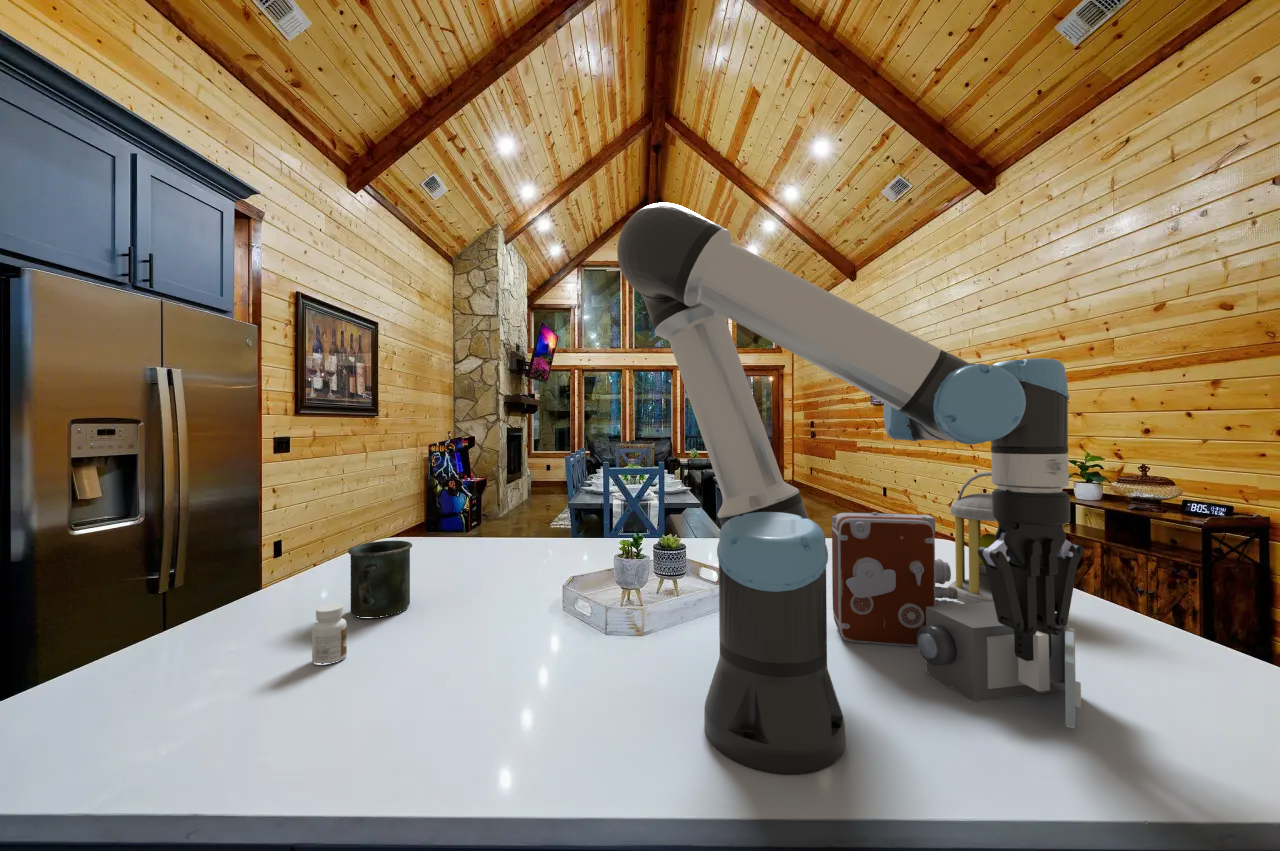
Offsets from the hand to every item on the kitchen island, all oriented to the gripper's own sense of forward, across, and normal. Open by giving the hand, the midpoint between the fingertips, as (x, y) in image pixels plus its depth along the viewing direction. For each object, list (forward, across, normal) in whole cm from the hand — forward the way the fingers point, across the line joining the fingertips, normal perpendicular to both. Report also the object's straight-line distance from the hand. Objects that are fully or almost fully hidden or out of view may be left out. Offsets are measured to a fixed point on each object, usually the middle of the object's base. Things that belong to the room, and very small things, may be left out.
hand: (1033, 685), depth 63 cm
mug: (+2, -88, +52) cm, 102 cm away
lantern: (+3, +29, +36) cm, 46 cm away
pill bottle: (+2, -89, +32) cm, 94 cm away
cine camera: (+3, -2, +22) cm, 22 cm away
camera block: (+3, 0, +7) cm, 7 cm away
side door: (+2, +4, -2) cm, 4 cm away
